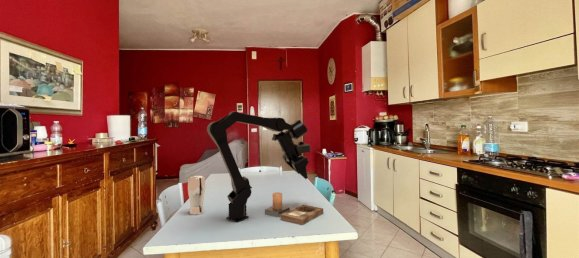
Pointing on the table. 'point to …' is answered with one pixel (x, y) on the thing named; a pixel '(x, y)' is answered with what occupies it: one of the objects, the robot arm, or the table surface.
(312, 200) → the table surface
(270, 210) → the tab
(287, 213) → the hole plate
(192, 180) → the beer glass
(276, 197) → the peg
